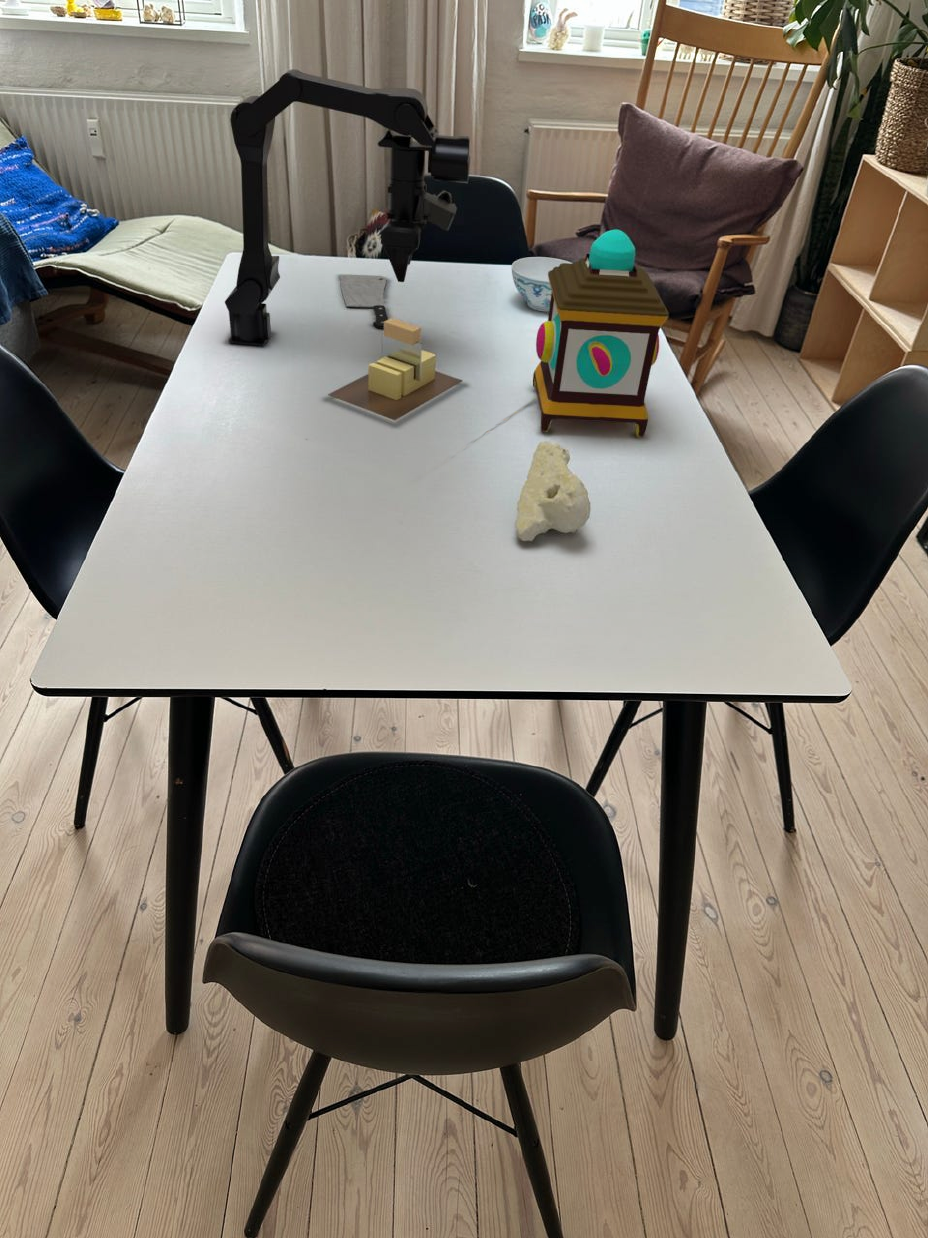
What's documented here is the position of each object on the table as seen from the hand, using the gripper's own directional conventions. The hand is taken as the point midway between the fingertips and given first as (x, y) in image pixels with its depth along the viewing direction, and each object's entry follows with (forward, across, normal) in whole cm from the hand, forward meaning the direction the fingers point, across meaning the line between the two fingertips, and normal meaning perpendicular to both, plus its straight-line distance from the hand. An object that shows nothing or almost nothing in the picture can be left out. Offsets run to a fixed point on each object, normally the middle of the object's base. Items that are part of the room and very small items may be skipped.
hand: (404, 272), depth 162 cm
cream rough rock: (+15, -52, -26) cm, 60 cm away
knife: (+12, -16, -2) cm, 20 cm away
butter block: (+14, -15, -2) cm, 20 cm away
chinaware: (+15, +31, -27) cm, 43 cm away
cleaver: (+15, +24, +10) cm, 30 cm away
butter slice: (+14, -20, +1) cm, 24 cm away
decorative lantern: (+15, -18, -34) cm, 41 cm away
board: (+15, -17, -1) cm, 23 cm away
